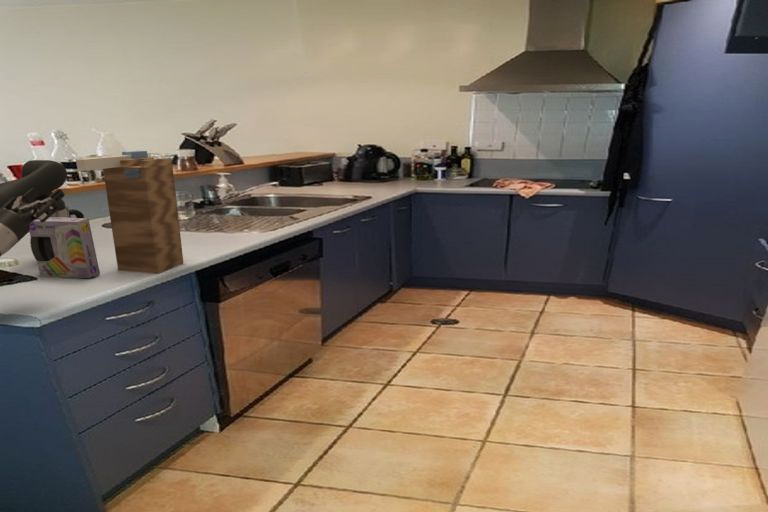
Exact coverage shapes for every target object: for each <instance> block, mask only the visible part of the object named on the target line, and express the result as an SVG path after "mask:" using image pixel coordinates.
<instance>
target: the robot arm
mask: <svg viewBox="0 0 768 512" xmlns="http://www.w3.org/2000/svg"><path fill="white" fill-rule="evenodd" d="M20 176H21V177H20V178H18V179H14V180H8V181H5V182H2V183H0V258H1V257H2V256H3V255H5V254H6V253H8V252H9V251H10V250H11V249H12V248H13V247H15V245H17V244H18V243H19V242H20V241H22V239H23V238H24V237H25V236H26V235H28V233H30V232H29V231H30V223H31V222H33V221H34V220H36V219H39V220H40V221H41V222H45V221H46V220H47V219H48V218H49V217H53V218H56V217H66V218H67V213H66V207H65V206H66V204H65V201H64V197H65V195H66V194H65V193H64V192H63V190H62V189H60V188H61V187H62V186H63V185H64V184H65V183H66V181H67V178H68V171H67V169H66V167H65V166H64V165H63V164H62V163H60V162H58V161H55V160H48V159H45V160H43V159H40V160H39V159H33V160H32V159H31V160H28V161H26V162H25V163H24V164H23V165H22V168H21V175H20ZM53 191H54V192H53Z"/></svg>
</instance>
